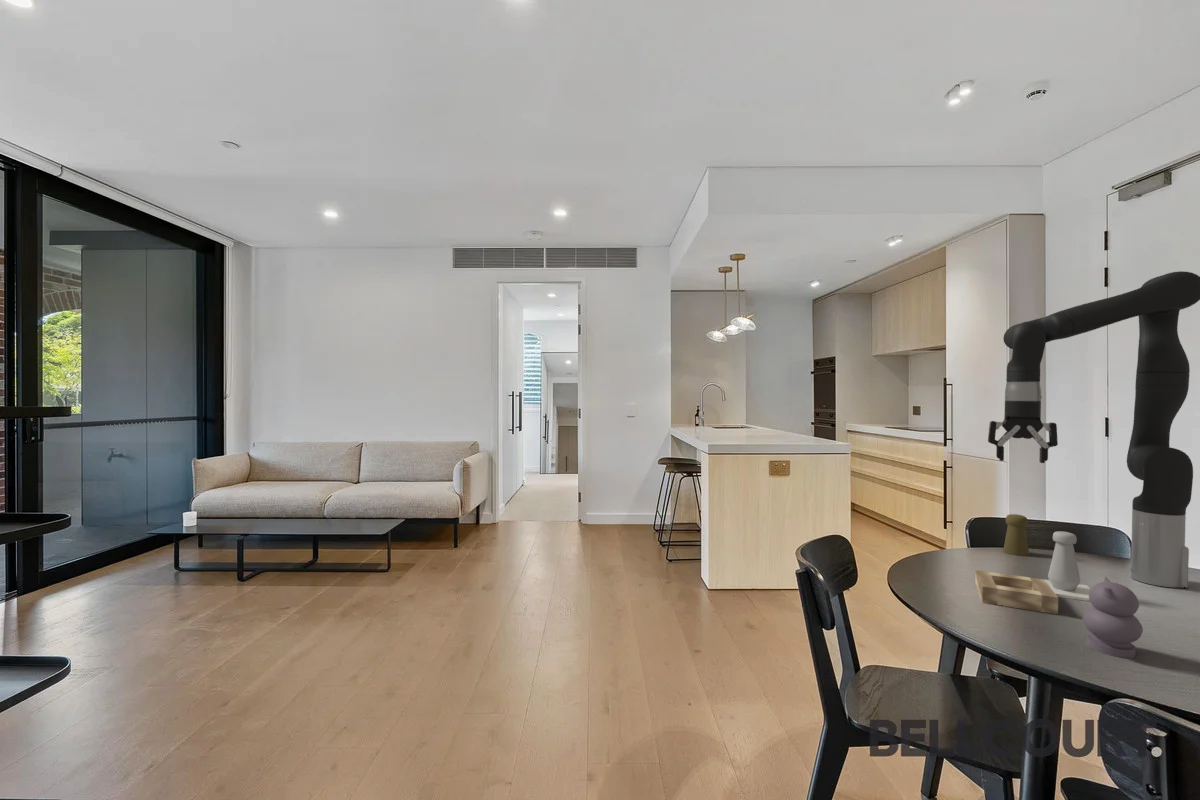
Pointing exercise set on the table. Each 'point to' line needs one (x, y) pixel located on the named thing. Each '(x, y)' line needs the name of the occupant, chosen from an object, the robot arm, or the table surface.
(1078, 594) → the grey tile
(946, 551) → the table surface
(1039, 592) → the socket block
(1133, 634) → the stacked rounded figure
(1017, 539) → the cork
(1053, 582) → the salt shaker
